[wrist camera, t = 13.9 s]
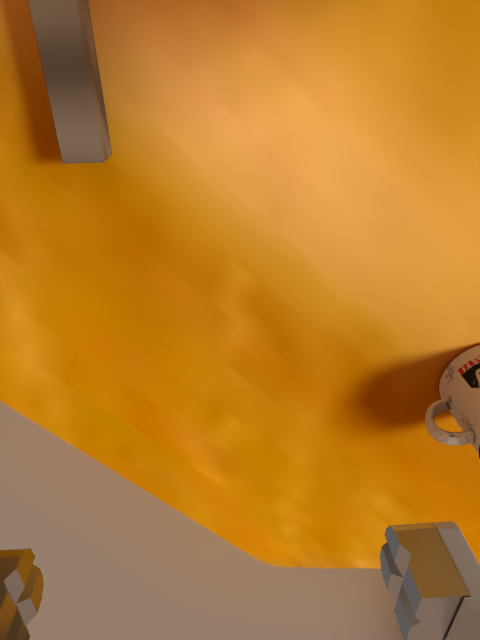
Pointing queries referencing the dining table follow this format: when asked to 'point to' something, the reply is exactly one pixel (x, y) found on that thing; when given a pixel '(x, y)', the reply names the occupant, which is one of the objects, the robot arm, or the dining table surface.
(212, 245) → the dining table surface
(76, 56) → the turner
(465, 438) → the teacup with lid
